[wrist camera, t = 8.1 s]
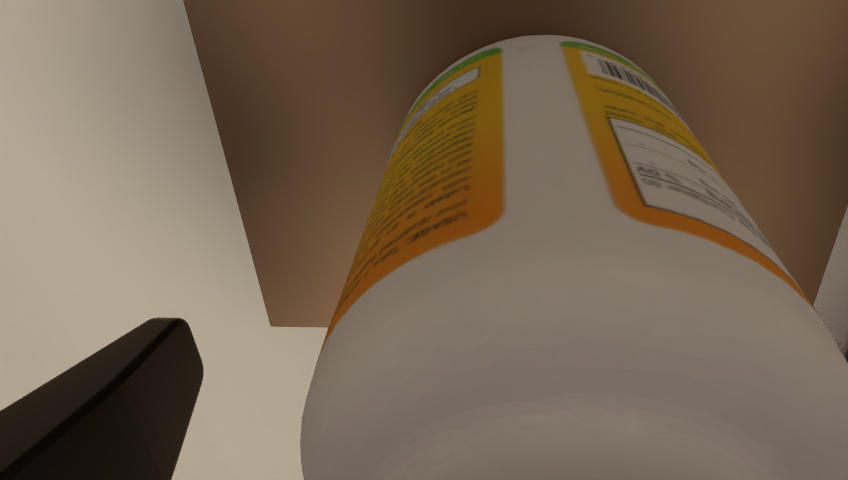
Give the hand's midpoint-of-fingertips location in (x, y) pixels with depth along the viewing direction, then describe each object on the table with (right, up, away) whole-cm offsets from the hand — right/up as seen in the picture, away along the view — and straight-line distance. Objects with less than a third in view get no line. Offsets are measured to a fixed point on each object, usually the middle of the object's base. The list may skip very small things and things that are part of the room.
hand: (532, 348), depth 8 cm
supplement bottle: (+1, +3, +4) cm, 5 cm away
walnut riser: (+1, +5, +7) cm, 9 cm away
